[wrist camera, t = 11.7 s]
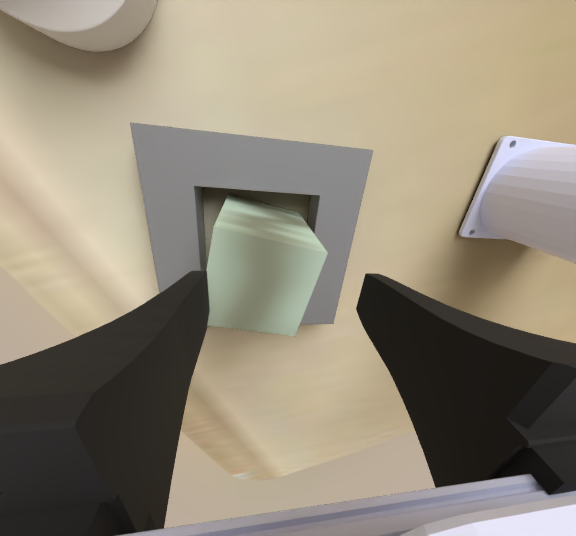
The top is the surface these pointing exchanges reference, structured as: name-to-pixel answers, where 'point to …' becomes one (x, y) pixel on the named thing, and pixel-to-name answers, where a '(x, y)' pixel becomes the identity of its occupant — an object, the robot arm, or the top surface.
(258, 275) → the sage green block
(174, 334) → the robot arm
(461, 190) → the top surface
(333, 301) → the well block
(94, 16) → the wall hook
